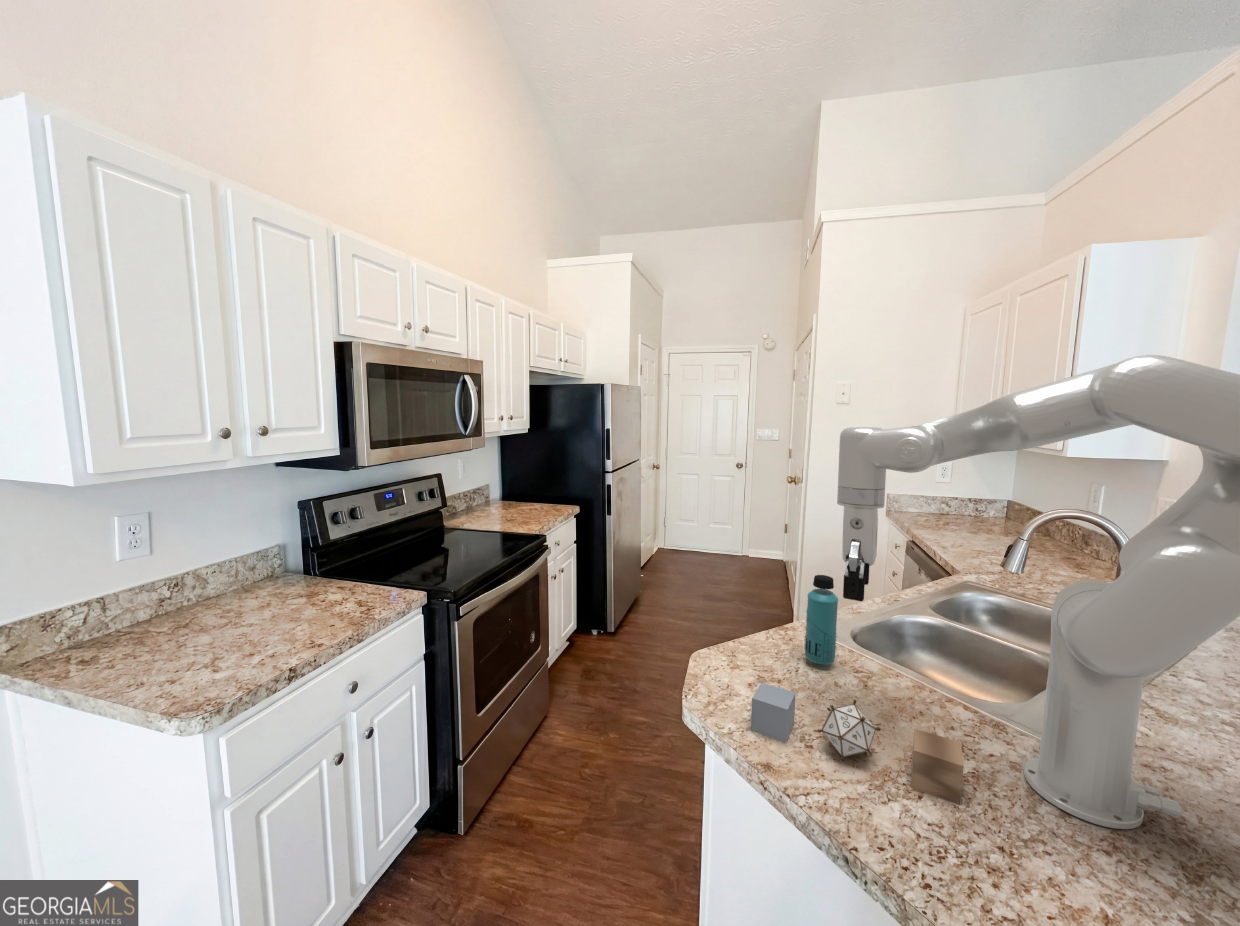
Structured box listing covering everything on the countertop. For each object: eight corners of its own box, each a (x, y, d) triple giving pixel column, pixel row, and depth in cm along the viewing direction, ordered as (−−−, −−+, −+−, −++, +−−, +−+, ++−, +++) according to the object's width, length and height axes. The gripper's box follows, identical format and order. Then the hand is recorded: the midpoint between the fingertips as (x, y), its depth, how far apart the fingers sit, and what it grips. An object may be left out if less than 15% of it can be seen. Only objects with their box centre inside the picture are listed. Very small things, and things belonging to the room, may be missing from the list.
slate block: (793, 724, 86) (795, 692, 85) (785, 743, 81) (787, 709, 80) (760, 713, 89) (761, 682, 89) (750, 730, 84) (751, 698, 84)
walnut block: (957, 779, 73) (960, 742, 73) (960, 805, 68) (963, 766, 68) (911, 763, 77) (914, 728, 76) (910, 788, 72) (913, 750, 71)
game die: (858, 781, 78) (893, 760, 71) (807, 755, 79) (837, 733, 72) (858, 727, 84) (890, 703, 78) (810, 704, 86) (838, 679, 79)
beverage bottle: (837, 662, 108) (842, 575, 106) (832, 675, 103) (837, 583, 101) (806, 654, 112) (811, 569, 110) (800, 666, 106) (805, 577, 104)
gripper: (881, 506, 76) (876, 611, 78) (887, 492, 91) (882, 581, 92) (830, 502, 80) (826, 602, 82) (843, 489, 95) (839, 574, 96)
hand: (856, 590), depth 87 cm, fingers open, 9 cm apart
